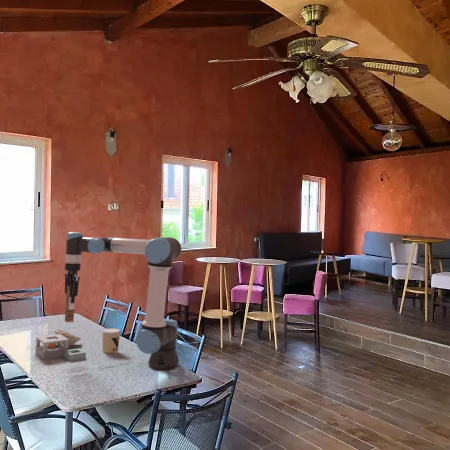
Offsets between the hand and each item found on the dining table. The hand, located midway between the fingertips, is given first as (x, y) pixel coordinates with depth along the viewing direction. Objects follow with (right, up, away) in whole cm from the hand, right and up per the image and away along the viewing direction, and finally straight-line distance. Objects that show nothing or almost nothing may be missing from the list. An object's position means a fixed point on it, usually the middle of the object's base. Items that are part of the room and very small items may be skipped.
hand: (69, 308), depth 219 cm
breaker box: (-10, -25, +2) cm, 27 cm away
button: (-10, -22, +2) cm, 25 cm away
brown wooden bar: (0, -7, 0) cm, 7 cm away
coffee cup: (+17, -27, +13) cm, 34 cm away
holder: (+3, -26, -1) cm, 26 cm away
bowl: (-9, -25, +20) cm, 33 cm away
